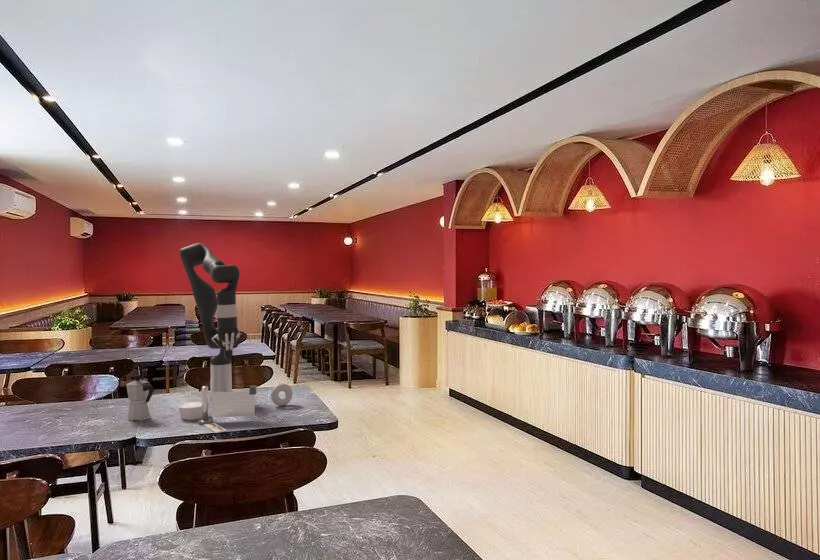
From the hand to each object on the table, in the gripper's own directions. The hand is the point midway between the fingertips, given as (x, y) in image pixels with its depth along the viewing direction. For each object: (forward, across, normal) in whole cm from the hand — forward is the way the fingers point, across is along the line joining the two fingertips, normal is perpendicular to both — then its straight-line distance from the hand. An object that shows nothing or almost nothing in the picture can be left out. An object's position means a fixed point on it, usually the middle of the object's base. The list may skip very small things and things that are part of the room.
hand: (228, 359), depth 231 cm
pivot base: (+26, -8, +7) cm, 27 cm away
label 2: (+25, -8, -7) cm, 27 cm away
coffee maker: (+26, -26, +31) cm, 48 cm away
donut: (+27, +28, +12) cm, 40 cm away
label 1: (+25, -8, 0) cm, 26 cm away
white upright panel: (+24, 0, +2) cm, 24 cm away
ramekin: (+26, -9, +19) cm, 33 cm away
